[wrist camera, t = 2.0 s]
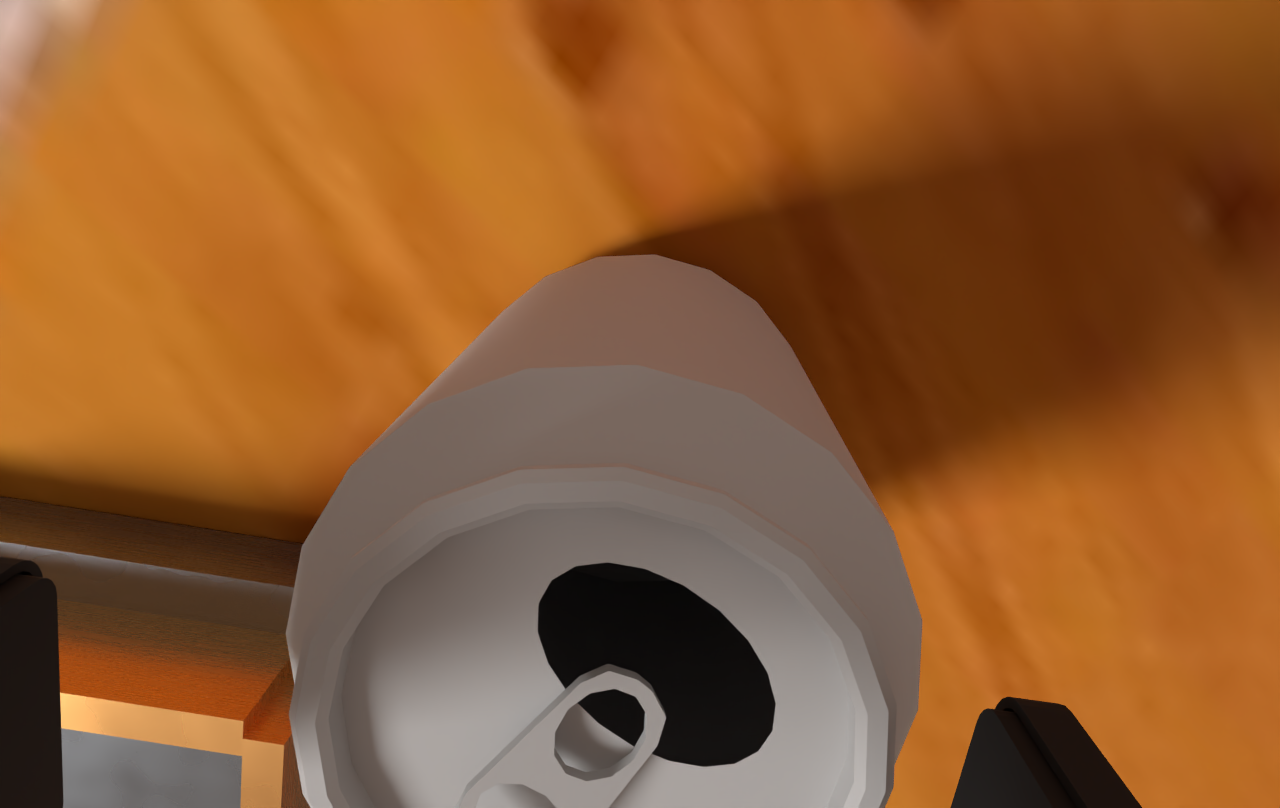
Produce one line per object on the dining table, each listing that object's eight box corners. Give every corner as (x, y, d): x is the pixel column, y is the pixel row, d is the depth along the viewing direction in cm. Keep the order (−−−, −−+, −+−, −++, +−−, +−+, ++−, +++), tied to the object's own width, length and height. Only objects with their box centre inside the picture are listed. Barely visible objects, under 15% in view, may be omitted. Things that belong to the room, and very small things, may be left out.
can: (873, 407, 20) (1133, 762, 9) (646, 623, 22) (615, 1156, 11) (625, 173, 19) (549, 229, 8) (405, 422, 21) (73, 775, 9)
